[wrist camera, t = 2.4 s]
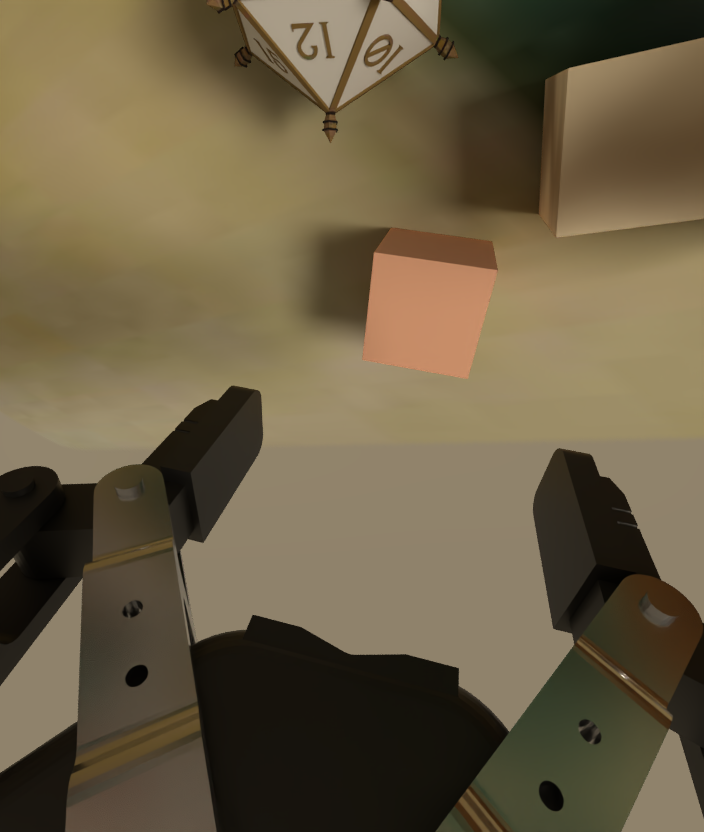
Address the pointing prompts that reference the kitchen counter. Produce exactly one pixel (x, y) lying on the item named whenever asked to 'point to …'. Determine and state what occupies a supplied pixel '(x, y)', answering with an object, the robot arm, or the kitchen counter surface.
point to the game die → (336, 43)
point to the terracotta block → (428, 301)
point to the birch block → (624, 142)
